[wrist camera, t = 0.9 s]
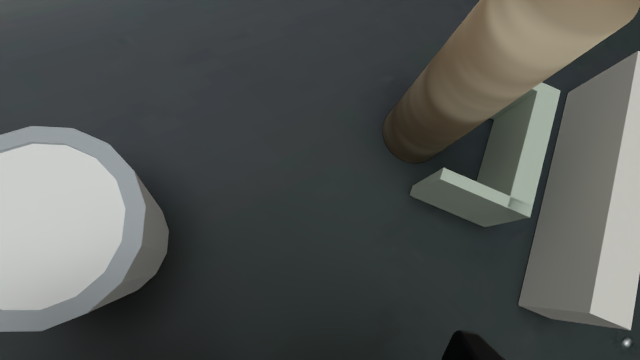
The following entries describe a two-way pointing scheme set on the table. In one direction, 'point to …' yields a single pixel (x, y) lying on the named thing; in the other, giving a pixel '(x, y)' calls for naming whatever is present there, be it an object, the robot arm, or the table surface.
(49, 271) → the white cup
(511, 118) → the bracket
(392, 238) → the table surface
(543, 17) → the dowel
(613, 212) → the wall
